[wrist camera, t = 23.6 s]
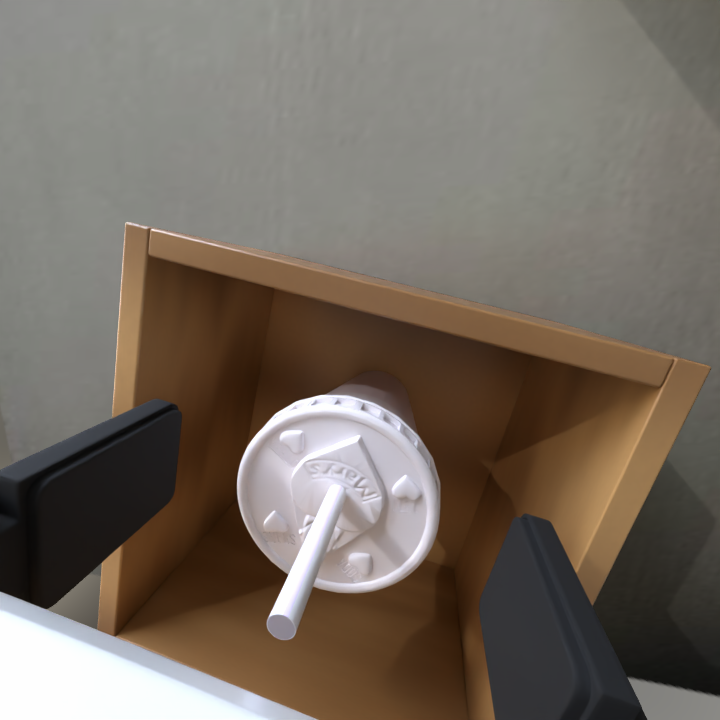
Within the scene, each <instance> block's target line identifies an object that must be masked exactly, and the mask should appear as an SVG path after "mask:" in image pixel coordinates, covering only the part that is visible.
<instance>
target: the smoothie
mask: <svg viewBox="0 0 720 720" xmlns="http://www.w3.org/2000/svg"><path fill="white" fill-rule="evenodd" d="M237 497H238V503H239V508H240V512H241V515H242V518H243V521H244V523H245V525H246V527H247V529H248V532H249V533H250V535H251V537H252V538H253V540H254V541H255V543H256V544H257V546H258V547H259V548H260V550H261V551H262V552H263V553H264V554H265V555H266V556H267V557H268V558H269V559H270V561H271V562H273V563H274V564H275V565H276V566H278V567H279V568H280V569H281V570H283V571H284V572H285V573H287V574H288V577H287V579H286V582H285V584H284V586H283V588H282V590H281V592H280V594H279V596H278V598H277V601H276V603H275V605H274V607H273V609H272V611H271V613H270V615H269V618H268V620H267V628H268V631H269V632H270V633H271V634H272V635H273V636H274V637H276V638H278V639H280V640H289V639H291V638H293V637H294V635H295V634H296V631H297V628H298V626H299V623H300V620H301V617H302V615H303V612H304V609H305V607H306V604H307V601H308V599H309V596H310V593H311V591H312V588H313V587H316V588H319V589H322V590H327V591H332V592H337V593H365V592H371V591H376V590H380V589H383V588H386V587H388V586H391V585H393V584H395V583H397V582H399V581H401V580H402V579H404V578H405V577H407V576H408V575H410V574H411V573H412V572H413V571H414V570H415V569H416V568H417V567H418V566H419V565H420V564H421V563H422V562H423V560H424V559H425V558H426V556H427V555H428V553H429V551H430V550H431V548H432V546H433V543H434V541H435V538H436V535H437V532H438V526H439V520H440V480H439V477H438V474H437V470H436V467H435V464H434V460H433V458H432V456H431V454H430V453H429V451H428V450H427V448H426V446H425V445H424V443H423V442H422V440H421V438H420V437H419V435H418V433H417V429H416V425H415V421H414V417H413V413H412V409H411V405H410V401H409V397H408V394H407V391H406V389H405V387H404V386H403V384H402V383H401V382H400V381H399V380H398V379H397V378H395V377H394V376H392V375H391V374H388V373H386V372H382V371H368V372H364V373H362V374H360V375H358V376H356V377H354V378H353V379H351V380H349V381H348V382H346V383H344V384H343V385H341V386H339V387H337V388H336V389H334V390H332V391H331V392H329V393H327V394H325V395H319V396H315V397H311V398H307V399H303V400H299V401H296V402H294V403H293V404H291V405H289V406H288V407H286V408H284V409H283V410H281V411H279V412H278V413H276V414H275V415H274V416H273V417H272V418H271V419H270V420H269V421H268V422H267V424H266V425H265V426H264V427H263V428H262V429H261V430H260V431H259V432H258V433H257V434H256V435H255V437H254V438H253V439H252V440H251V442H250V444H249V445H248V447H247V449H246V451H245V453H244V455H243V457H242V460H241V463H240V467H239V471H238V478H237Z"/></svg>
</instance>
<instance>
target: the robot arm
mask: <svg viewBox="0 0 720 720" xmlns="http://www.w3.org/2000/svg"><path fill="white" fill-rule="evenodd" d="M181 423H182V413H181V412H180V411H179V409H178V406H177V405H176V404H173V403H170V402H167V401H164V400H160V399H153V400H150V401H148V402H146V403H144V404H142V405H140V406H137V407H135V408H133V409H131V410H129V411H127V412H124V413H122V414H120V415H118V416H116V417H114V418H111V419H109V420H107V421H105V422H103V423H101V424H98V425H96V426H94V427H92V428H90V429H88V430H85V431H83V432H81V433H79V434H77V435H75V436H72V437H70V438H68V439H66V440H64V441H62V442H59V443H57V444H55V445H53V446H51V447H49V448H46V449H44V450H42V451H40V452H38V453H36V454H33V455H31V456H29V457H27V458H25V459H23V460H20V461H18V462H16V463H14V464H12V465H10V466H8V467H5V468H3V469H1V470H0V720H317V719H315V718H313V717H310V716H308V715H305V714H303V713H301V712H298V711H296V710H293V709H291V708H288V707H286V706H283V705H281V704H279V703H276V702H274V701H271V700H269V699H266V698H264V697H261V696H259V695H257V694H254V693H252V692H249V691H247V690H244V689H242V688H239V687H237V686H235V685H232V684H230V683H227V682H225V681H222V680H220V679H217V678H215V677H213V676H210V675H208V674H205V673H203V672H200V671H198V670H195V669H193V668H190V667H188V666H185V665H183V664H181V663H178V662H176V661H173V660H171V659H168V658H166V657H163V656H161V655H158V654H156V653H153V652H151V651H149V650H146V649H144V648H141V647H139V646H136V645H134V644H131V643H129V642H126V641H124V640H121V639H119V638H116V637H114V636H111V635H109V634H106V633H104V632H101V631H99V630H96V629H94V628H91V627H89V626H86V625H84V624H81V623H79V622H76V621H74V620H71V619H69V618H66V617H64V616H61V615H58V614H56V613H54V612H51V611H48V610H46V609H48V608H50V607H51V606H53V605H54V604H56V603H57V602H58V601H59V600H60V599H61V598H62V597H64V595H66V594H67V593H68V592H69V591H70V590H71V589H72V588H74V587H75V586H76V585H77V584H78V583H79V582H80V581H82V580H83V579H84V578H85V577H86V576H87V575H88V574H89V573H91V572H92V571H93V570H94V569H95V568H96V567H97V566H98V565H100V564H101V563H102V562H103V561H104V560H105V559H106V558H107V557H109V556H110V555H111V554H112V553H113V552H114V551H115V550H116V549H118V548H119V547H120V546H121V545H122V544H123V543H124V542H125V541H127V540H128V539H129V538H130V537H131V536H132V535H133V534H134V533H136V532H137V531H138V530H139V529H140V528H141V527H142V526H143V525H145V524H146V523H147V522H148V521H149V520H150V519H151V518H153V517H154V516H155V515H156V514H157V513H158V512H159V511H160V510H162V509H163V508H164V507H165V506H166V505H167V504H168V503H169V502H170V500H171V499H172V497H173V495H174V492H175V485H176V474H177V464H178V454H179V444H180V434H181ZM479 615H480V622H481V629H482V635H483V642H484V649H485V656H486V662H487V669H488V676H489V683H490V689H491V696H492V703H493V710H494V716H495V720H647V718H646V716H645V714H644V712H643V710H642V707H641V705H640V703H639V700H638V698H637V696H636V695H635V692H634V690H633V688H632V686H631V684H630V682H629V680H628V678H627V676H626V674H625V672H624V670H623V668H622V666H621V664H620V662H619V660H618V658H617V656H616V654H615V652H614V649H613V647H612V645H611V643H610V641H609V639H608V637H607V635H606V633H605V631H604V629H603V627H602V625H601V623H600V621H599V619H598V617H597V615H596V613H595V611H594V609H593V607H592V605H591V603H590V601H589V598H588V596H587V594H586V592H585V590H584V588H583V586H582V584H581V582H580V580H579V578H578V576H577V574H576V572H575V570H574V568H573V566H572V564H571V562H570V560H569V558H568V556H567V554H566V552H565V550H564V547H563V545H562V543H561V541H560V539H559V537H558V535H557V533H556V531H555V529H554V527H553V525H552V523H551V522H550V521H549V520H546V519H543V518H539V517H536V516H533V515H530V514H527V513H525V514H523V515H522V516H521V518H520V517H515V518H514V519H513V521H512V523H511V526H510V528H509V530H508V533H507V535H506V537H505V540H504V542H503V545H502V547H501V549H500V552H499V554H498V556H497V559H496V561H495V564H494V566H493V568H492V571H491V573H490V576H489V578H488V580H487V583H486V585H485V587H484V590H483V592H482V595H481V597H480V602H479Z"/></svg>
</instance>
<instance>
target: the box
mask: <svg viewBox="0 0 720 720" xmlns="http://www.w3.org/2000/svg"><path fill="white" fill-rule="evenodd" d="M710 370H711V367H710V366H708V365H704V364H701V363H697V362H694V361H690V360H687V359H683V358H680V357H676V356H673V355H669V354H666V353H662V352H659V351H655V350H652V349H648V348H645V347H641V346H638V345H634V344H631V343H627V342H624V341H620V340H617V339H613V338H610V337H606V336H603V335H599V334H596V333H592V332H589V331H585V330H582V329H578V328H575V327H572V326H568V325H565V324H561V323H557V322H554V321H550V320H546V319H542V318H537V317H533V316H529V315H525V314H521V313H517V312H513V311H509V310H505V309H501V308H497V307H493V306H489V305H485V304H480V303H476V302H472V301H468V300H464V299H460V298H456V297H452V296H448V295H444V294H440V293H436V292H432V291H428V290H424V289H419V288H415V287H411V286H407V285H403V284H399V283H395V282H391V281H387V280H383V279H379V278H375V277H371V276H367V275H362V274H358V273H354V272H350V271H346V270H342V269H338V268H334V267H330V266H326V265H322V264H318V263H314V262H310V261H305V260H301V259H297V258H293V257H289V256H285V255H281V254H277V253H273V252H268V251H263V250H259V249H254V248H249V247H244V246H240V245H235V244H230V243H225V242H221V241H216V240H211V239H206V238H202V237H197V236H192V235H187V234H183V233H178V232H173V231H168V230H164V229H159V228H154V227H150V226H145V225H140V224H135V223H131V222H127V223H126V224H125V237H124V251H123V266H122V281H121V295H120V310H119V324H118V339H117V354H116V368H115V383H114V397H113V412H112V418H114V417H116V416H118V415H120V414H122V413H124V412H127V411H129V410H131V409H133V408H135V407H137V406H140V405H142V404H144V403H146V402H148V401H150V400H153V399H160V400H164V401H167V402H170V403H173V404H176V405H177V406H178V409H179V411H180V412H181V413H182V423H181V434H180V444H179V454H178V464H177V474H176V485H175V492H174V495H173V497H172V499H171V500H170V502H169V503H168V504H167V505H166V506H165V507H164V508H163V509H162V510H160V511H159V512H158V513H157V514H156V515H155V516H154V517H153V518H151V519H150V520H149V521H148V522H147V523H146V524H145V525H143V526H142V527H141V528H140V529H139V530H138V531H137V532H136V533H134V534H133V535H132V536H131V537H130V538H129V539H128V540H127V541H125V542H124V543H123V544H122V545H121V546H120V547H119V548H118V549H116V550H115V551H114V552H113V553H112V554H111V555H110V556H109V557H107V558H106V559H105V560H104V561H103V562H102V573H101V588H100V602H99V617H98V630H99V631H101V632H104V633H106V634H109V635H111V636H114V637H116V638H119V639H121V640H124V641H126V642H129V643H131V644H134V645H136V646H139V647H141V648H144V649H146V650H149V651H151V652H153V653H156V654H158V655H161V656H163V657H166V658H168V659H171V660H173V661H176V662H178V663H181V664H183V665H185V666H188V667H190V668H193V669H195V670H198V671H200V672H203V673H205V674H208V675H210V676H213V677H215V678H217V679H220V680H222V681H225V682H227V683H230V684H232V685H235V686H237V687H239V688H242V689H244V690H247V691H249V692H252V693H254V694H257V695H259V696H261V697H264V698H266V699H269V700H271V701H274V702H276V703H279V704H281V705H283V706H286V707H288V708H291V709H293V710H296V711H298V712H301V713H303V714H305V715H308V716H310V717H313V718H315V719H317V720H495V716H494V710H493V703H492V696H491V689H490V683H489V676H488V669H487V662H486V656H485V649H484V642H483V635H482V629H481V622H480V615H479V602H480V597H481V595H482V592H483V590H484V587H485V585H486V583H487V580H488V578H489V576H490V573H491V571H492V568H493V566H494V564H495V561H496V559H497V556H498V554H499V552H500V549H501V547H502V545H503V542H504V540H505V537H506V535H507V533H508V530H509V528H510V526H511V523H512V521H513V519H514V518H515V517H520V518H521V516H522V515H523V514H525V513H527V514H530V515H533V516H536V517H539V518H543V519H546V520H549V521H550V522H551V523H552V525H553V527H554V529H555V531H556V533H557V535H558V537H559V539H560V541H561V543H562V545H563V547H564V550H565V552H566V554H567V556H568V558H569V560H570V562H571V564H572V566H573V568H574V570H575V572H576V574H577V576H578V578H579V580H580V582H581V584H582V586H583V588H584V590H585V592H586V594H587V596H588V598H589V601H590V603H591V605H592V606H593V604H594V602H595V600H596V598H597V596H598V594H599V592H600V590H601V588H602V586H603V584H604V582H605V580H606V578H607V576H608V574H609V572H610V570H611V568H612V566H613V564H614V562H615V560H616V558H617V556H618V554H619V552H620V550H621V548H622V546H623V544H624V542H625V540H626V538H627V536H628V534H629V532H630V530H631V528H632V526H633V524H634V522H635V520H636V518H637V516H638V514H639V512H640V510H641V508H642V506H643V504H644V502H645V500H646V498H647V496H648V494H649V492H650V490H651V488H652V486H653V484H654V482H655V480H656V478H657V476H658V474H659V472H660V470H661V468H662V466H663V464H664V462H665V460H666V458H667V456H668V454H669V452H670V450H671V448H672V446H673V444H674V442H675V440H676V438H677V436H678V434H679V432H680V430H681V428H682V426H683V424H684V422H685V420H686V418H687V416H688V414H689V412H690V410H691V408H692V406H693V404H694V402H695V400H696V398H697V396H698V394H699V392H700V390H701V388H702V386H703V384H704V382H705V380H706V378H707V376H708V374H709V372H710ZM368 371H382V372H386V373H388V374H391V375H392V376H394V377H395V378H397V379H398V380H399V381H400V382H401V383H402V384H403V386H404V387H405V389H406V391H407V394H408V397H409V401H410V405H411V409H412V413H413V417H414V421H415V425H416V429H417V433H418V435H419V437H420V438H421V440H422V442H423V443H424V445H425V446H426V448H427V450H428V451H429V453H430V454H431V456H432V458H433V460H434V464H435V467H436V470H437V474H438V477H439V480H440V520H439V526H438V532H437V535H436V538H435V541H434V543H433V546H432V548H431V550H430V551H429V553H428V555H427V556H426V558H425V559H424V560H423V562H422V563H421V564H420V565H419V566H418V567H417V568H416V569H415V570H414V571H413V572H412V573H411V574H410V575H408V576H407V577H405V578H404V579H402V580H401V581H399V582H397V583H395V584H393V585H391V586H388V587H386V588H383V589H380V590H376V591H371V592H365V593H337V592H332V591H327V590H322V589H319V588H316V587H313V588H312V591H311V593H310V596H309V599H308V601H307V604H306V607H305V609H304V612H303V615H302V617H301V620H300V623H299V626H298V628H297V631H296V634H295V635H294V637H293V638H291V639H289V640H280V639H278V638H276V637H274V636H273V635H272V634H271V633H270V632H269V631H268V628H267V620H268V618H269V615H270V613H271V611H272V609H273V607H274V605H275V603H276V601H277V598H278V596H279V594H280V592H281V590H282V588H283V586H284V584H285V582H286V579H287V577H288V574H287V573H285V572H284V571H283V570H281V569H280V568H279V567H278V566H276V565H275V564H274V563H273V562H271V561H270V559H269V558H268V557H267V556H266V555H265V554H264V553H263V552H262V551H261V550H260V548H259V547H258V546H257V544H256V543H255V541H254V540H253V538H252V537H251V535H250V533H249V532H248V529H247V527H246V525H245V523H244V521H243V518H242V515H241V512H240V508H239V503H238V497H237V478H238V471H239V467H240V463H241V460H242V457H243V455H244V453H245V451H246V449H247V447H248V445H249V444H250V442H251V440H252V439H253V438H254V437H255V435H256V434H257V433H258V432H259V431H260V430H261V429H262V428H263V427H264V426H265V425H266V424H267V422H268V421H269V420H270V419H271V418H272V417H273V416H274V415H275V414H276V413H278V412H279V411H281V410H283V409H284V408H286V407H288V406H289V405H291V404H293V403H294V402H296V401H299V400H303V399H307V398H311V397H315V396H319V395H325V394H327V393H329V392H331V391H332V390H334V389H336V388H337V387H339V386H341V385H343V384H344V383H346V382H348V381H349V380H351V379H353V378H354V377H356V376H358V375H360V374H362V373H364V372H368Z"/></svg>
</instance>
